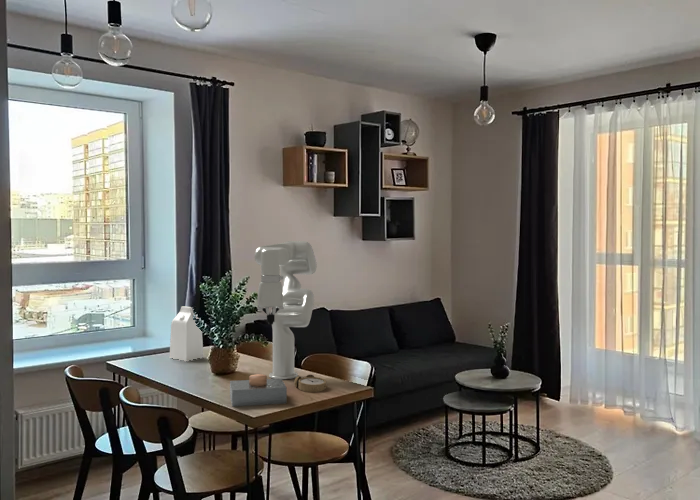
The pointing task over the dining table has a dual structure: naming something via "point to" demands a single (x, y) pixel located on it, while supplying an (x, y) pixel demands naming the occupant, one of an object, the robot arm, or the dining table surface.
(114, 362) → the dining table surface
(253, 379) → the peg
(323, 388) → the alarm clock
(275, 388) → the hitch block
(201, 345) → the milk
